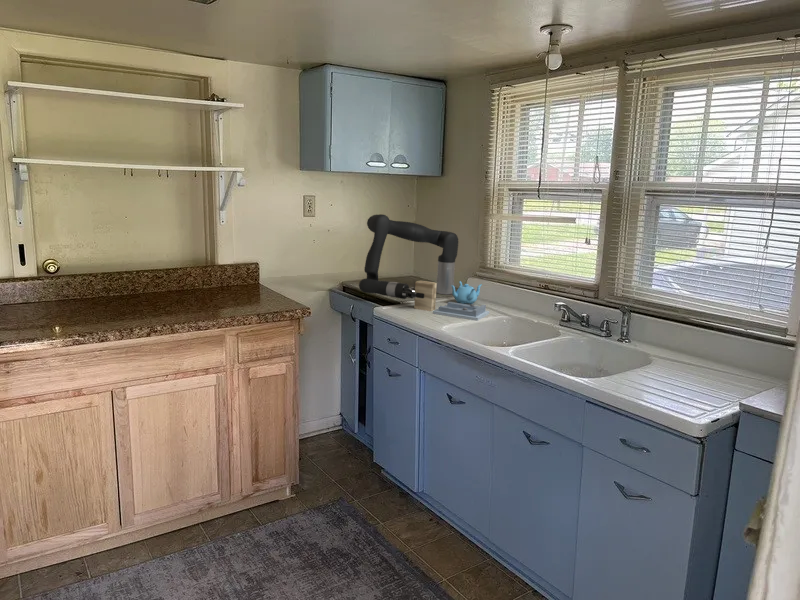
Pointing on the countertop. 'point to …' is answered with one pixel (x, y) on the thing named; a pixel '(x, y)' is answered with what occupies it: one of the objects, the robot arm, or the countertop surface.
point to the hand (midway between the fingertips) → (427, 294)
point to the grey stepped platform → (462, 311)
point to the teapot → (465, 293)
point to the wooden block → (425, 295)
